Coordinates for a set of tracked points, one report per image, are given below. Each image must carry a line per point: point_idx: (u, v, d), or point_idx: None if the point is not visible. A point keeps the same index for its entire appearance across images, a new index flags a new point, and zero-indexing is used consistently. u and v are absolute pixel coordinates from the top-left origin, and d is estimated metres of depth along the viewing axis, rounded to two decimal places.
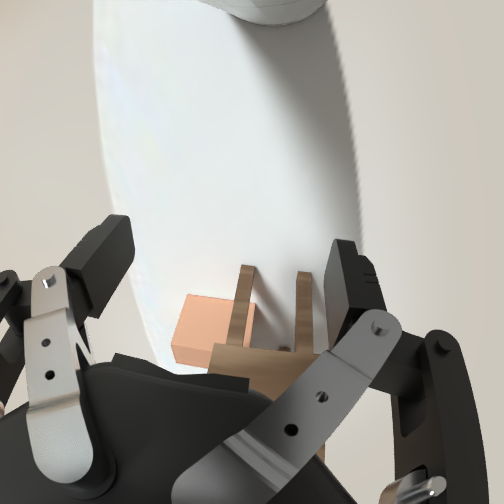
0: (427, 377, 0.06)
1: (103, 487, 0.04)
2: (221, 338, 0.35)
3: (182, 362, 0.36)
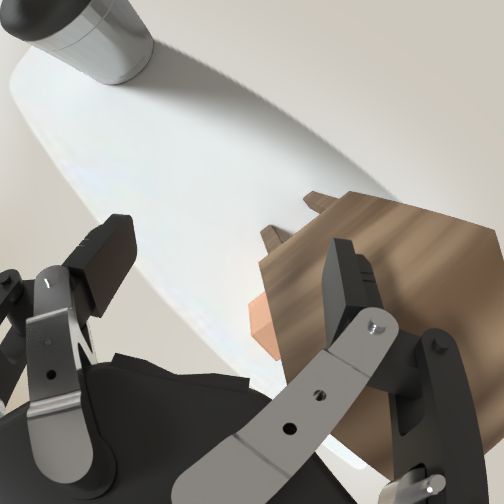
0: (425, 376, 0.06)
1: (103, 487, 0.04)
2: None
3: None
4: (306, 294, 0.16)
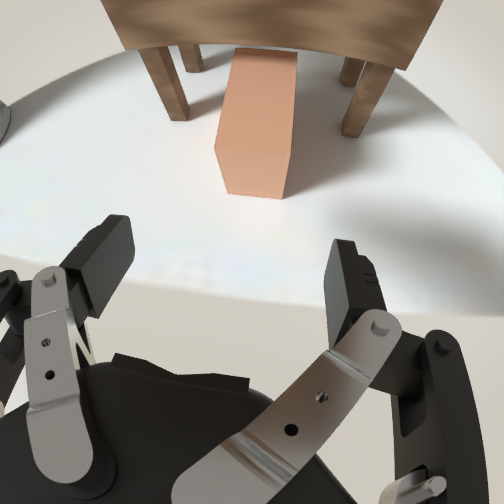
0: (427, 377, 0.06)
1: (103, 487, 0.04)
2: None
3: (283, 140, 0.17)
4: None
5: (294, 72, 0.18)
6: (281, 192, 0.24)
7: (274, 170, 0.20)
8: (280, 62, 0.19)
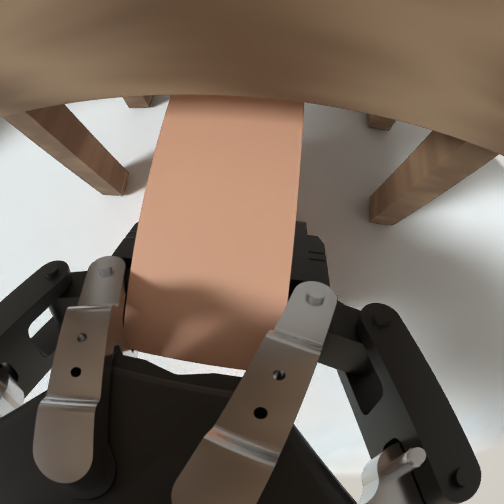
0: (373, 353, 0.07)
1: (103, 487, 0.04)
2: None
3: None
4: None
5: (298, 140, 0.09)
6: None
7: None
8: (266, 114, 0.09)
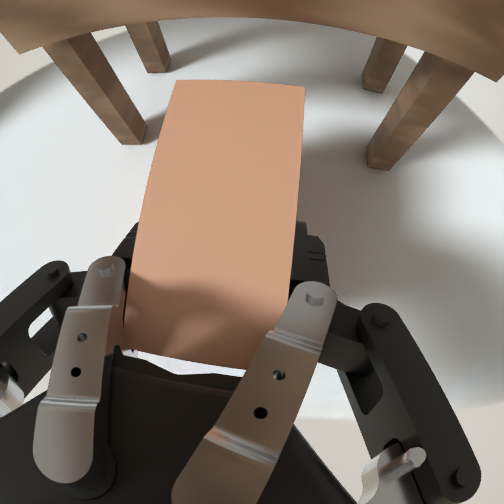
0: (373, 353, 0.07)
1: (103, 487, 0.04)
2: None
3: None
4: None
5: (298, 140, 0.09)
6: None
7: None
8: (267, 114, 0.09)
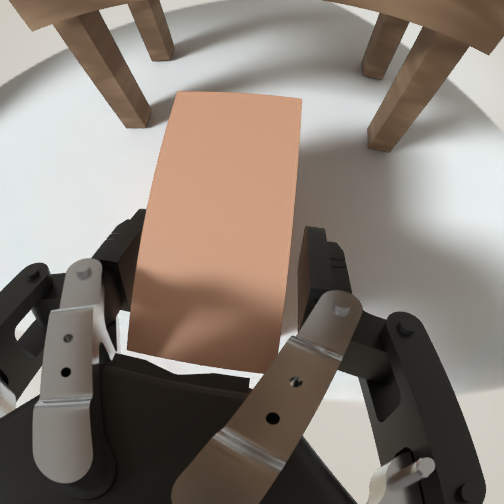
0: (395, 361, 0.07)
1: (103, 487, 0.04)
2: None
3: (263, 341, 0.08)
4: None
5: (294, 152, 0.09)
6: None
7: None
8: (265, 126, 0.10)
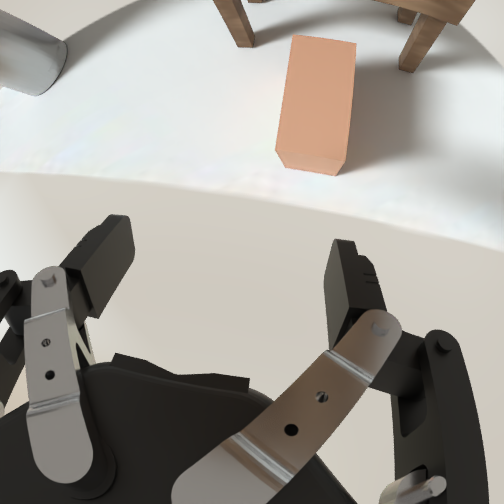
0: (427, 377, 0.06)
1: (103, 487, 0.04)
2: None
3: (340, 145, 0.18)
4: None
5: (353, 68, 0.17)
6: (335, 173, 0.24)
7: (330, 164, 0.21)
8: (338, 55, 0.17)
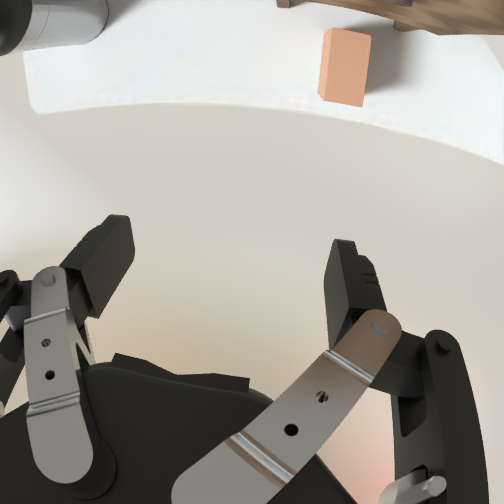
0: (427, 377, 0.06)
1: (103, 487, 0.04)
2: (327, 54, 0.29)
3: (359, 99, 0.30)
4: None
5: (368, 53, 0.27)
6: None
7: None
8: (360, 44, 0.26)
